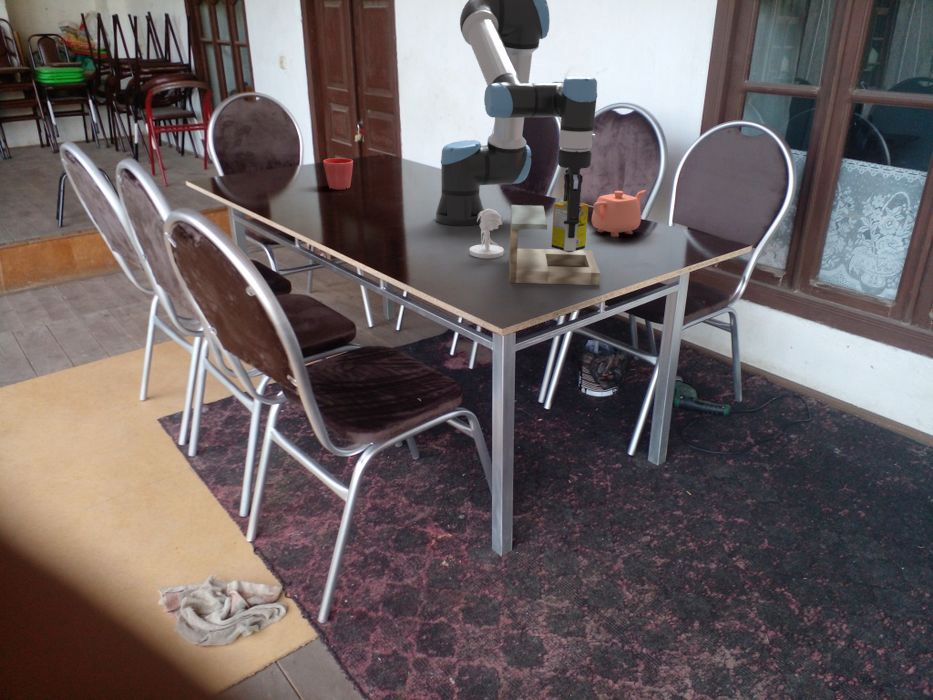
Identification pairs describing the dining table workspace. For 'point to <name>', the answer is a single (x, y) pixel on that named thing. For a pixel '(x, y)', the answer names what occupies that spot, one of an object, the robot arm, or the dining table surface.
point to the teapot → (617, 213)
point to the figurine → (488, 235)
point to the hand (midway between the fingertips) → (568, 244)
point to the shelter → (546, 255)
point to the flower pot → (338, 172)
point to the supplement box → (559, 226)
